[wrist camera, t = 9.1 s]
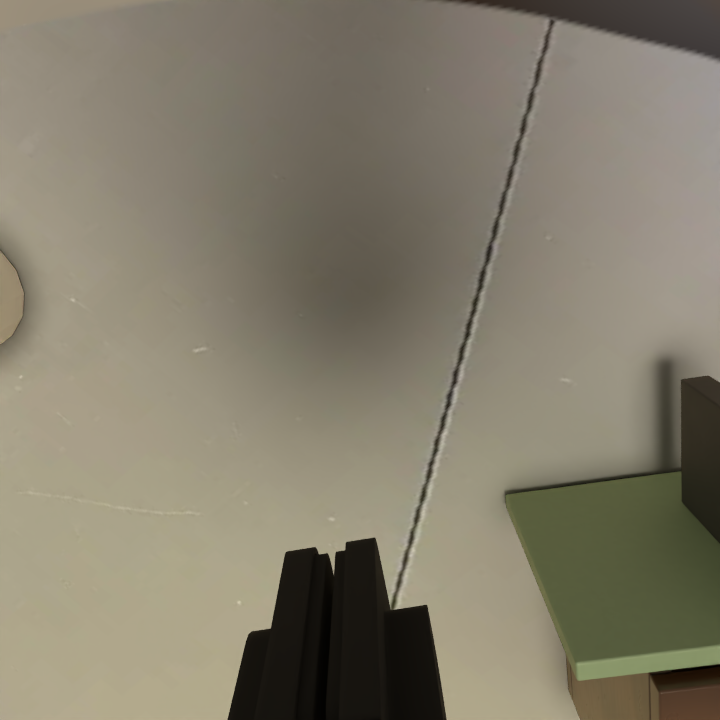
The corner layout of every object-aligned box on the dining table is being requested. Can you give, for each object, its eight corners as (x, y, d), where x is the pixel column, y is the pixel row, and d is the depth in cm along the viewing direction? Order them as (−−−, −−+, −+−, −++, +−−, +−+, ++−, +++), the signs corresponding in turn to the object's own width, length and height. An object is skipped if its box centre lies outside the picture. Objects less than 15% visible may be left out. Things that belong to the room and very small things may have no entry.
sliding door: (493, 382, 30) (565, 506, 20) (709, 351, 30) (902, 461, 19) (506, 507, 32) (576, 682, 22) (708, 481, 32) (882, 645, 21)
